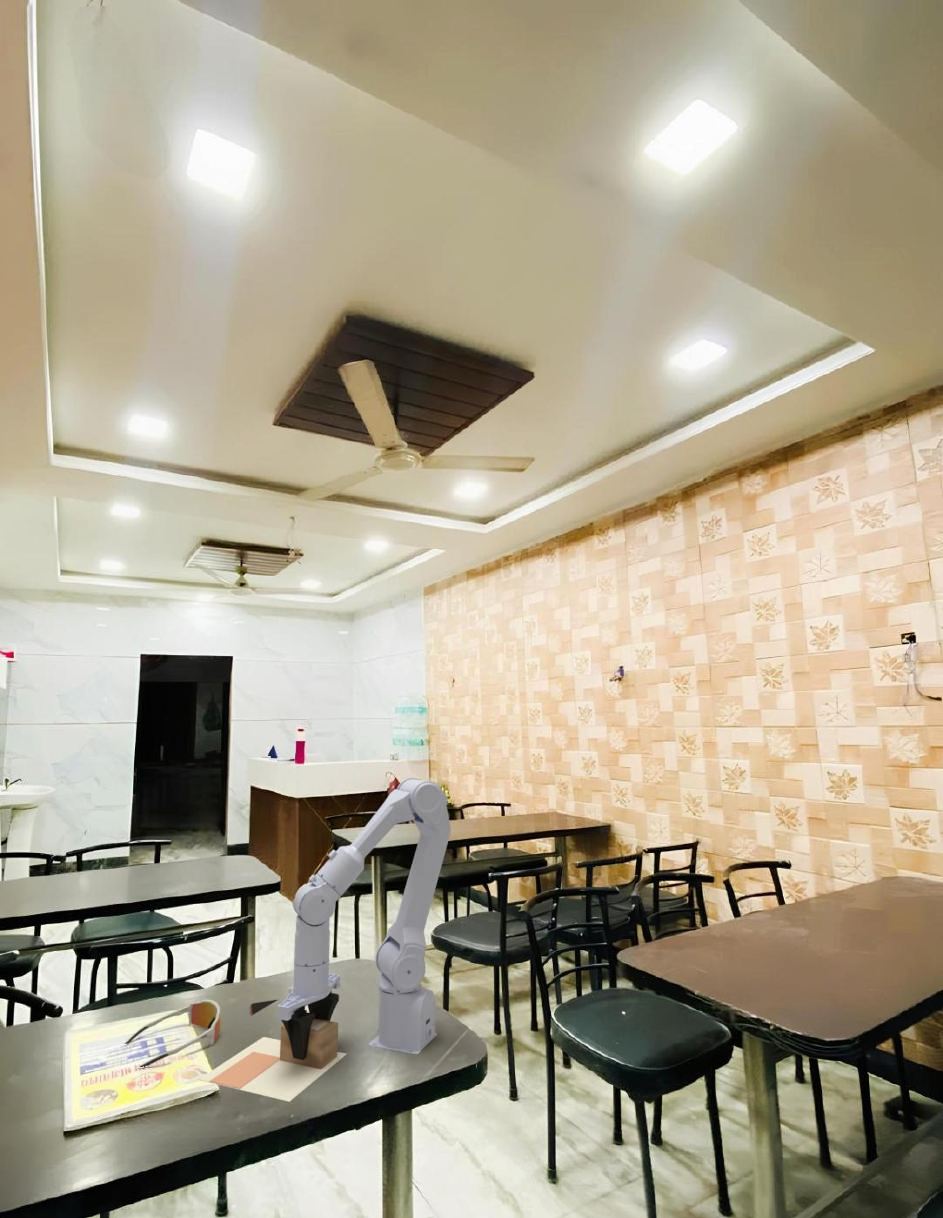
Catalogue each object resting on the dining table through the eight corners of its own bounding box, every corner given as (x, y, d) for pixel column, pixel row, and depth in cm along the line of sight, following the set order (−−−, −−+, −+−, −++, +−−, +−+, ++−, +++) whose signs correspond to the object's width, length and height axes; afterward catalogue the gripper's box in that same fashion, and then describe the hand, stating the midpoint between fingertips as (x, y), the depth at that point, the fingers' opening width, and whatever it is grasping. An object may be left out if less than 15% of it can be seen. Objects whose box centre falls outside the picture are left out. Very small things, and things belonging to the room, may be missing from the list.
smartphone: (288, 997, 131) (297, 1028, 117) (288, 1002, 130) (297, 1033, 117) (250, 1003, 128) (254, 1035, 114) (249, 1008, 128) (254, 1041, 114)
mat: (346, 1057, 107) (346, 1053, 107) (289, 1106, 93) (289, 1100, 94) (263, 1040, 113) (263, 1036, 113) (198, 1083, 100) (198, 1078, 100)
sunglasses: (234, 1045, 112) (231, 1015, 113) (138, 1090, 102) (136, 1056, 103) (207, 1018, 123) (205, 991, 123) (119, 1056, 113) (117, 1026, 114)
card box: (337, 1056, 106) (338, 1022, 107) (321, 1069, 102) (322, 1033, 103) (297, 1047, 109) (298, 1014, 110) (279, 1060, 105) (281, 1025, 106)
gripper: (317, 944, 117) (314, 1028, 114) (263, 972, 103) (259, 1067, 101) (351, 949, 114) (349, 1034, 112) (300, 978, 101) (296, 1075, 98)
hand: (308, 1050), depth 106 cm, fingers closed on card box, 4 cm apart
